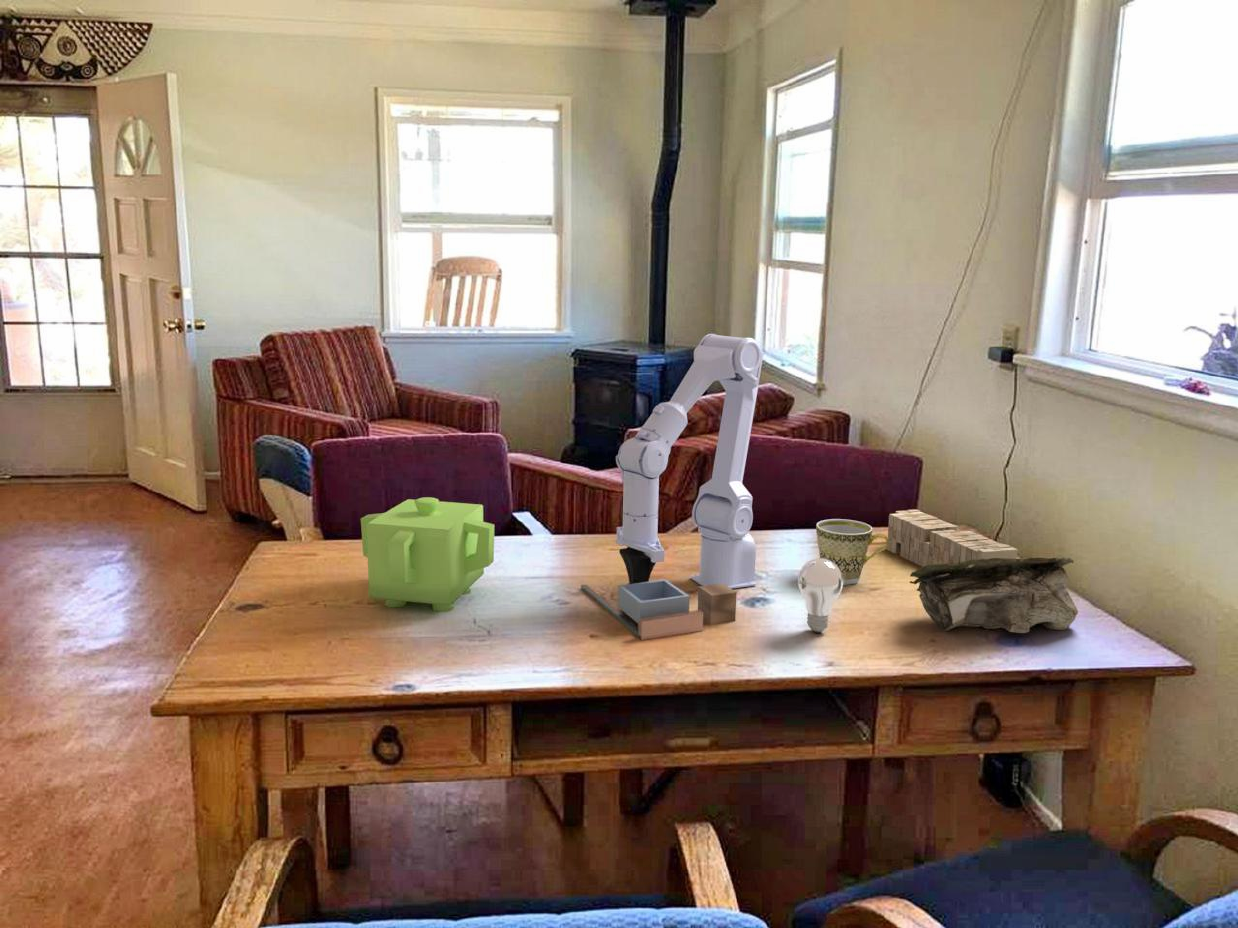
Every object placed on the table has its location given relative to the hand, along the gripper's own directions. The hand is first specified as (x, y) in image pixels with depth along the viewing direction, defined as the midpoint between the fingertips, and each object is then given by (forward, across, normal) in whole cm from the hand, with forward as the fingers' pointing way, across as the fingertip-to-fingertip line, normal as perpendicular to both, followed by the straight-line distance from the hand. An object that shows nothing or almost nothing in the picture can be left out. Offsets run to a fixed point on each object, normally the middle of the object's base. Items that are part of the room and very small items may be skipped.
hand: (638, 591), depth 167 cm
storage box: (+3, -17, -31) cm, 36 cm away
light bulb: (+3, +20, +22) cm, 30 cm away
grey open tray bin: (+3, +6, 0) cm, 6 cm away
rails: (+3, 0, 0) cm, 3 cm away
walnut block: (+3, +9, +10) cm, 14 cm away
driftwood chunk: (+3, +27, +50) cm, 57 cm away
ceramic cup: (+3, +1, +42) cm, 42 cm away
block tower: (+3, 0, +64) cm, 64 cm away
